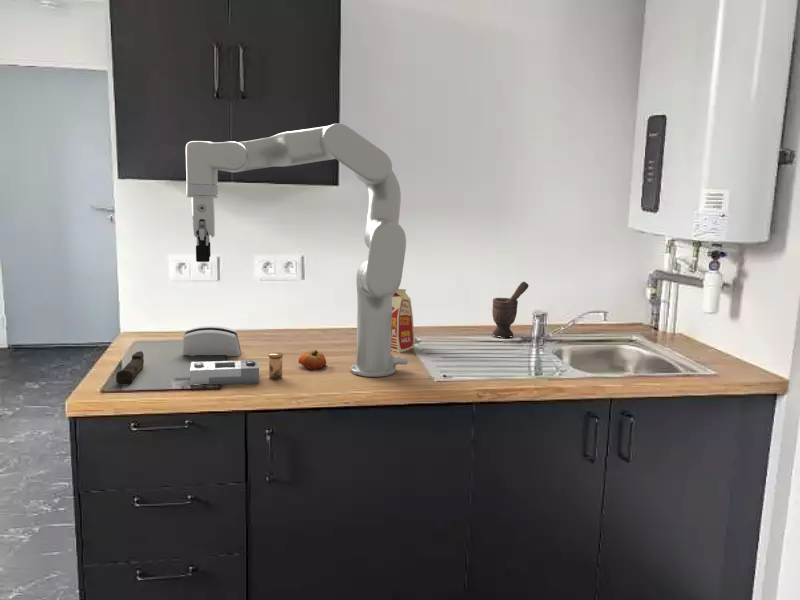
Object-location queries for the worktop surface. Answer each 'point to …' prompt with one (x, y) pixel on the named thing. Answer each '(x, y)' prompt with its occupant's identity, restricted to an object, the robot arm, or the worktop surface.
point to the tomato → (312, 360)
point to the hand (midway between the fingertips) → (203, 259)
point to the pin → (275, 365)
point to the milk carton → (402, 322)
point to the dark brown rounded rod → (131, 369)
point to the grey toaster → (211, 341)
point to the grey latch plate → (224, 372)
